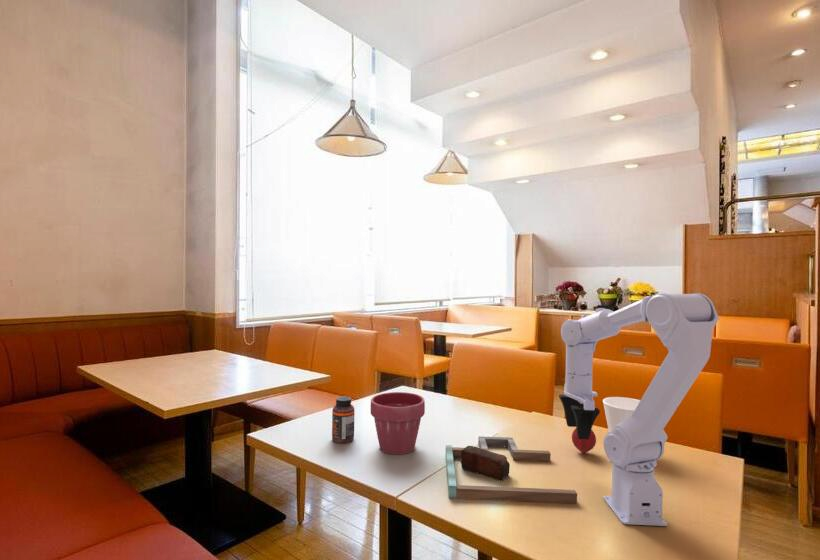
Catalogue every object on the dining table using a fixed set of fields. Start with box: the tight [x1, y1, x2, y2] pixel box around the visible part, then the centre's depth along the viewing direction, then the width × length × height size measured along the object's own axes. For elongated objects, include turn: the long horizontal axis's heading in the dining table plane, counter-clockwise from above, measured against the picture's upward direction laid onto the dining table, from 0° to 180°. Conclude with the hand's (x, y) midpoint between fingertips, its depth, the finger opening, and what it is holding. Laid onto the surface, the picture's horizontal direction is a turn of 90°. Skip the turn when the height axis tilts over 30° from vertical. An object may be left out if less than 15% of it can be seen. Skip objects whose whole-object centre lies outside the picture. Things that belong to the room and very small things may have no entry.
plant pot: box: [370, 391, 426, 455], centre depth 113 cm, size 14×14×13 cm
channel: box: [445, 435, 578, 504], centre depth 102 cm, size 29×26×2 cm
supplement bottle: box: [331, 395, 355, 444], centre depth 118 cm, size 6×6×11 cm
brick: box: [460, 445, 510, 482], centre depth 100 cm, size 11×4×5 cm, turn 55°
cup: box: [602, 396, 641, 433], centre depth 114 cm, size 12×12×12 cm
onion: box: [571, 427, 597, 454], centre depth 112 cm, size 6×6×8 cm
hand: (577, 432), depth 99 cm, fingers open, 7 cm apart
